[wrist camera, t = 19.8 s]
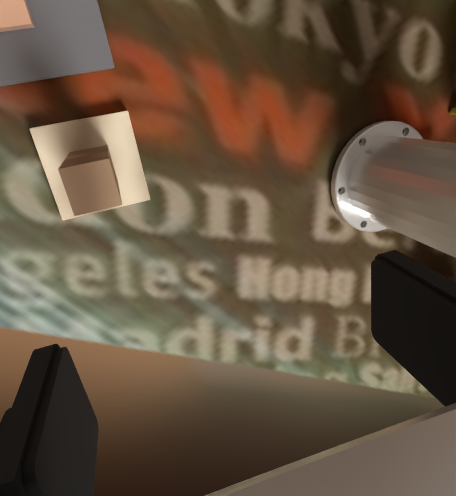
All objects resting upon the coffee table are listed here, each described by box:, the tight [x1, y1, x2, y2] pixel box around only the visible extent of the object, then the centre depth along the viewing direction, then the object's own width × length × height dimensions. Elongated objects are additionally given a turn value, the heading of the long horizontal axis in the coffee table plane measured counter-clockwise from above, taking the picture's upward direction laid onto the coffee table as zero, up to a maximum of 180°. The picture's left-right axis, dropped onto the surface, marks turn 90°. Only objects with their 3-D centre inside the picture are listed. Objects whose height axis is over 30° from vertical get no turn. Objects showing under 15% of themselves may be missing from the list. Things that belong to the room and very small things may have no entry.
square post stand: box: [30, 111, 150, 220], centre depth 29 cm, size 8×8×10 cm
